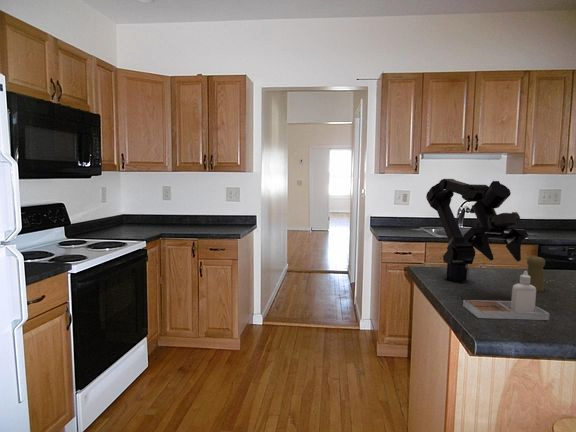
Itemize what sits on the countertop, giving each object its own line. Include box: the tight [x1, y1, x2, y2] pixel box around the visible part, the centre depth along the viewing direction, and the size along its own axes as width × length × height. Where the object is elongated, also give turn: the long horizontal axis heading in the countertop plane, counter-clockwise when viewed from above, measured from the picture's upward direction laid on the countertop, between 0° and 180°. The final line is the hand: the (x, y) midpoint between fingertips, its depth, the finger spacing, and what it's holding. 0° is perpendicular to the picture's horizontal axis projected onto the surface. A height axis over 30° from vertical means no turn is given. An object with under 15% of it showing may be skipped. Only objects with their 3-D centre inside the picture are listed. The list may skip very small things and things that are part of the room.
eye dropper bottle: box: [510, 270, 537, 312], centre depth 108 cm, size 4×6×12 cm
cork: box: [526, 255, 546, 292], centre depth 131 cm, size 6×6×11 cm
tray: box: [462, 299, 551, 321], centre depth 108 cm, size 19×10×2 cm, turn 88°
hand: (505, 260), depth 115 cm, fingers open, 9 cm apart
